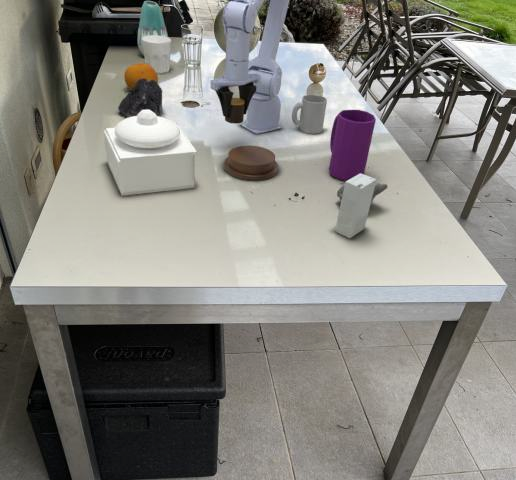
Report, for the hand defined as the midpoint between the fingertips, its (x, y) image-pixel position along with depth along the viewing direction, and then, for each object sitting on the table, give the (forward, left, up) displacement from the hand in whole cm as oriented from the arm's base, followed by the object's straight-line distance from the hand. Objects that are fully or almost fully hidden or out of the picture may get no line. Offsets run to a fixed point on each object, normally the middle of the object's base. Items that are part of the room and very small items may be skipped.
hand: (234, 114), depth 141 cm
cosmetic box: (+4, +50, -9) cm, 51 cm away
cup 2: (-27, +1, -9) cm, 28 cm away
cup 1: (-16, -67, -9) cm, 70 cm away
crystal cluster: (+10, -32, -9) cm, 35 cm away
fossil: (-6, +43, -9) cm, 44 cm away
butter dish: (+28, +5, -9) cm, 30 cm away
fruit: (0, -50, -9) cm, 51 cm away
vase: (-23, -82, -9) cm, 86 cm away
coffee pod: (0, 0, -1) cm, 1 cm away
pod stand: (+4, +14, -9) cm, 17 cm away
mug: (-17, +26, -9) cm, 32 cm away
